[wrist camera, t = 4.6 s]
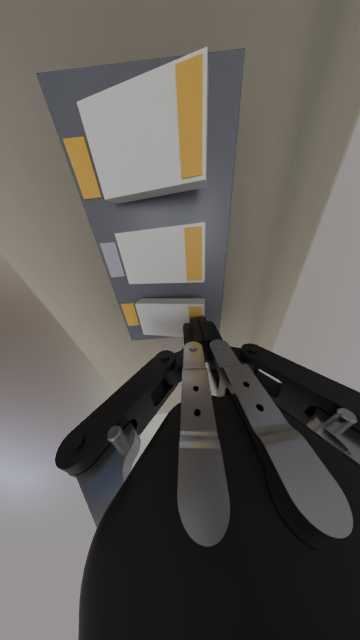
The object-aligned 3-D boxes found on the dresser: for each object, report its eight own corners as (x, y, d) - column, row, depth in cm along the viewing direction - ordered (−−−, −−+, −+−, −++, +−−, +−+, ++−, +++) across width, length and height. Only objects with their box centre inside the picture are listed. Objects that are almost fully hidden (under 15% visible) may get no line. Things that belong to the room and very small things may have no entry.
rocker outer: (141, 298, 14) (133, 304, 13) (204, 298, 13) (204, 305, 12) (148, 327, 16) (143, 335, 15) (204, 331, 15) (203, 339, 14)
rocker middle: (124, 234, 11) (113, 233, 10) (205, 224, 10) (205, 221, 8) (136, 280, 13) (128, 284, 12) (205, 277, 12) (204, 282, 11)
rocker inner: (95, 121, 8) (73, 99, 7) (208, 79, 7) (207, 42, 5) (116, 204, 10) (103, 199, 9) (206, 187, 9) (205, 178, 7)
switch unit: (71, 116, 10) (24, 58, 7) (226, 98, 10) (251, 30, 7) (137, 328, 20) (130, 343, 17) (213, 321, 20) (220, 335, 17)
